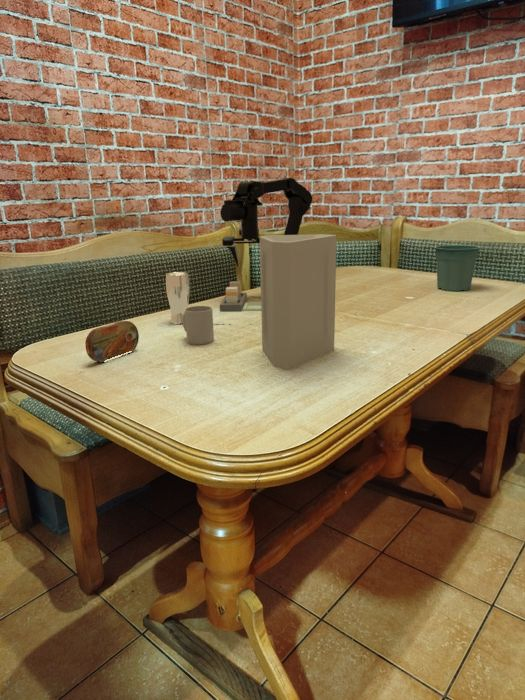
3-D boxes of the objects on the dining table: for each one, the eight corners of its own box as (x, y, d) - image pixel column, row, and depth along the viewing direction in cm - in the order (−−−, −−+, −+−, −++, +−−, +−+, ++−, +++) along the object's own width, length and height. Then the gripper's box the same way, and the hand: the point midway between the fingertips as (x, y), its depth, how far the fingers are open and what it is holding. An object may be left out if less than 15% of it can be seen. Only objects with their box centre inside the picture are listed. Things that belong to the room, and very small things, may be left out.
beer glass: (193, 319, 159) (190, 271, 155) (188, 324, 153) (185, 275, 148) (172, 319, 160) (168, 271, 155) (166, 324, 153) (162, 275, 149)
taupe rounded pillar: (288, 339, 135) (287, 232, 127) (335, 349, 126) (338, 235, 118) (240, 358, 121) (235, 239, 113) (289, 370, 112) (288, 242, 104)
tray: (271, 307, 173) (271, 302, 173) (270, 313, 164) (270, 308, 164) (245, 307, 174) (245, 302, 173) (243, 313, 165) (242, 308, 165)
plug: (237, 309, 168) (236, 288, 165) (226, 309, 168) (225, 289, 166) (238, 307, 171) (237, 286, 169) (227, 307, 171) (226, 287, 169)
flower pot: (422, 287, 200) (425, 246, 195) (453, 283, 207) (457, 243, 202) (453, 294, 186) (457, 250, 181) (485, 289, 193) (490, 247, 188)
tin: (94, 367, 118) (90, 332, 115) (85, 365, 119) (80, 330, 117) (141, 349, 130) (138, 317, 127) (132, 348, 131) (129, 316, 129)
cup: (199, 346, 131) (197, 313, 128) (174, 340, 137) (172, 308, 135) (219, 340, 136) (217, 308, 134) (194, 334, 142) (192, 303, 140)
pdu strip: (246, 300, 184) (246, 280, 181) (241, 313, 165) (240, 290, 162) (227, 301, 184) (226, 280, 182) (220, 313, 165) (218, 291, 163)
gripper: (277, 218, 180) (278, 262, 185) (225, 219, 181) (227, 262, 186) (276, 220, 169) (277, 266, 174) (221, 221, 171) (223, 267, 175)
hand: (250, 265), depth 178 cm, fingers open, 9 cm apart
